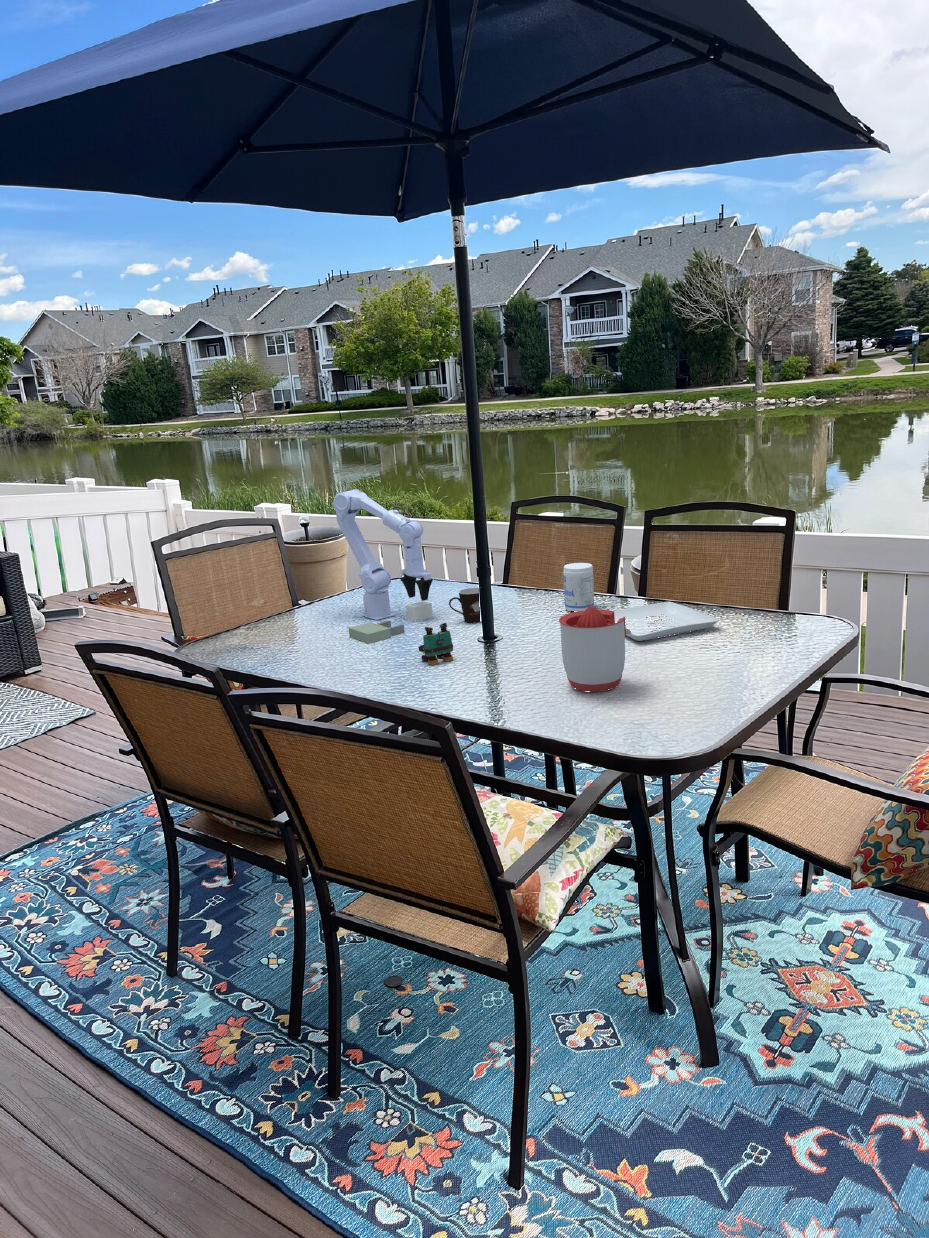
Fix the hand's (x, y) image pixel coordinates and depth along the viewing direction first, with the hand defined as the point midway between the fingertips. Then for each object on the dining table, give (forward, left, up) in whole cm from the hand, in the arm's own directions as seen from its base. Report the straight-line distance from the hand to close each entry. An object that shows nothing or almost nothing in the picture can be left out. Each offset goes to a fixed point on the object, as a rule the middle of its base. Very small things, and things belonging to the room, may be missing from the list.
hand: (418, 598), depth 277 cm
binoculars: (+42, -23, -7) cm, 48 cm away
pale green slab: (+6, -20, -7) cm, 22 cm away
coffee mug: (+17, +8, -7) cm, 20 cm away
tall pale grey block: (0, 0, -7) cm, 7 cm away
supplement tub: (+36, +39, -7) cm, 54 cm away
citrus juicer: (+91, -9, -7) cm, 92 cm away
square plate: (+69, +37, -7) cm, 79 cm away
